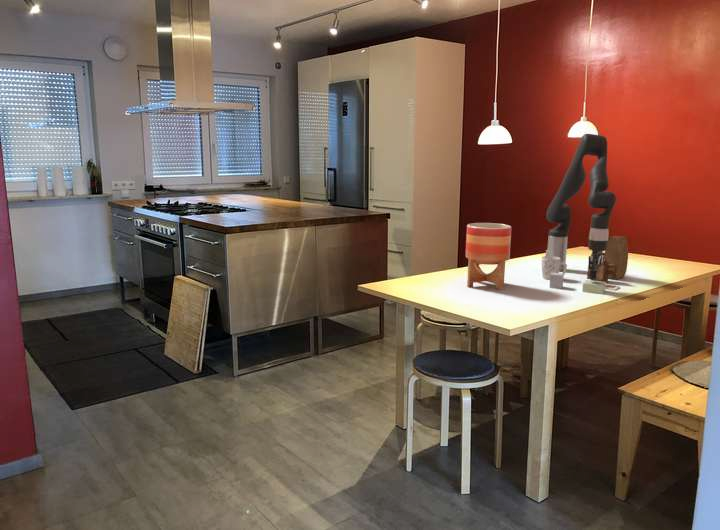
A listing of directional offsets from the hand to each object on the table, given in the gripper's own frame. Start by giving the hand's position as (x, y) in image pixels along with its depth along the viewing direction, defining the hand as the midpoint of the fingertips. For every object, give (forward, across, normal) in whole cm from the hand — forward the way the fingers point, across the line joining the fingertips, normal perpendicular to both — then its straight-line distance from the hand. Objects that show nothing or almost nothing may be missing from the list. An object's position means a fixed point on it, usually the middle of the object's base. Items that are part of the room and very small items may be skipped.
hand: (594, 277), depth 248 cm
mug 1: (+6, -12, -23) cm, 27 cm away
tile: (+6, -11, +3) cm, 13 cm away
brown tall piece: (+6, -35, -2) cm, 36 cm away
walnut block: (0, 0, 0) cm, 0 cm away
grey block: (+6, +4, -15) cm, 17 cm away
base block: (+6, 0, 0) cm, 6 cm away
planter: (+6, +22, -40) cm, 46 cm away
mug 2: (+6, -22, -3) cm, 23 cm away
